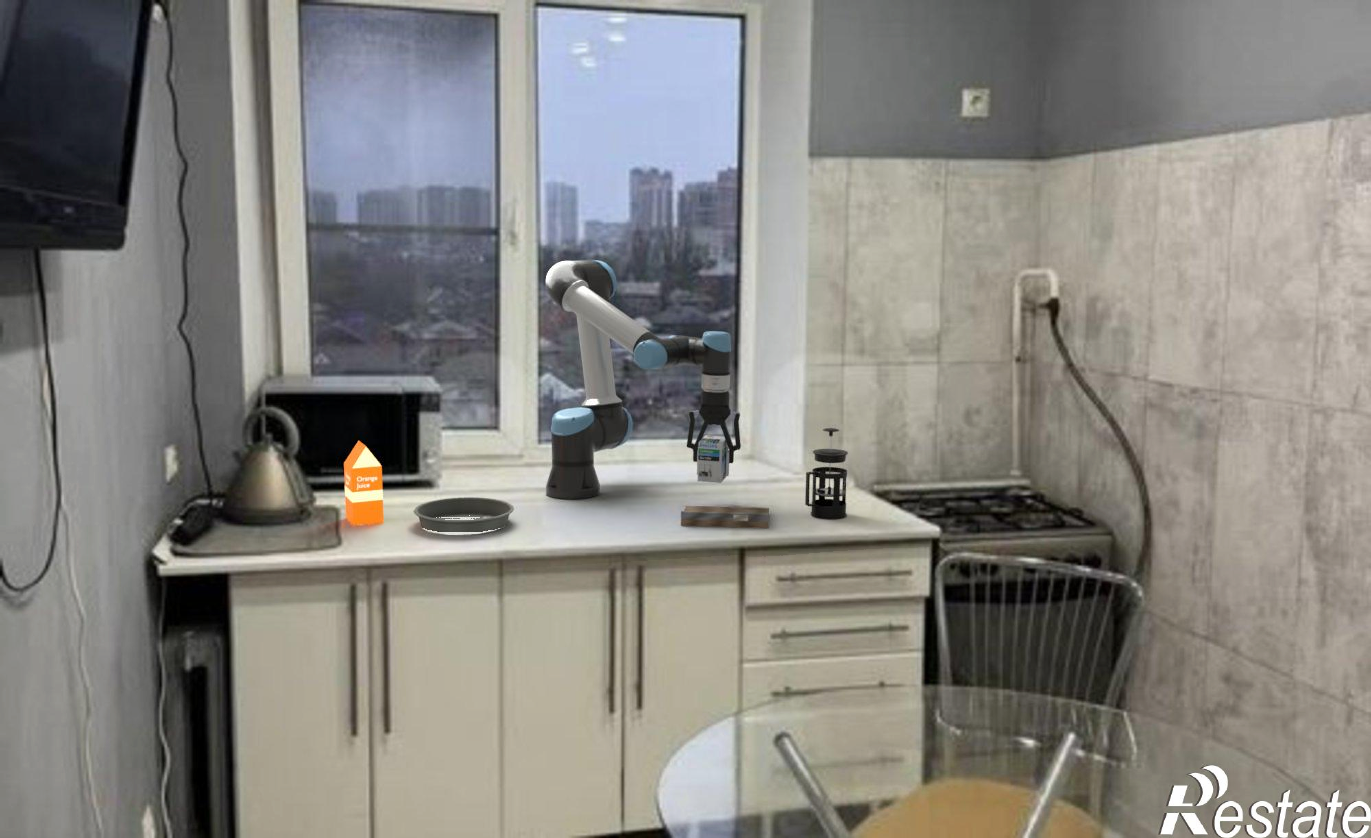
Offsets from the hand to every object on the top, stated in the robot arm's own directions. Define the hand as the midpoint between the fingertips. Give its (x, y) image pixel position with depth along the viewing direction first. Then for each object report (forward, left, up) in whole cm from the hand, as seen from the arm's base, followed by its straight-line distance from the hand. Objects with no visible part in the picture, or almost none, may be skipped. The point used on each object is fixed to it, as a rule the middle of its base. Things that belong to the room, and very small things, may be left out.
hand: (712, 474), depth 319 cm
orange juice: (-87, -27, -9) cm, 91 cm away
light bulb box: (0, 0, -1) cm, 1 cm away
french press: (+30, -8, -9) cm, 33 cm away
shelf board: (+4, -16, -8) cm, 18 cm away
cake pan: (-61, -28, -9) cm, 67 cm away
